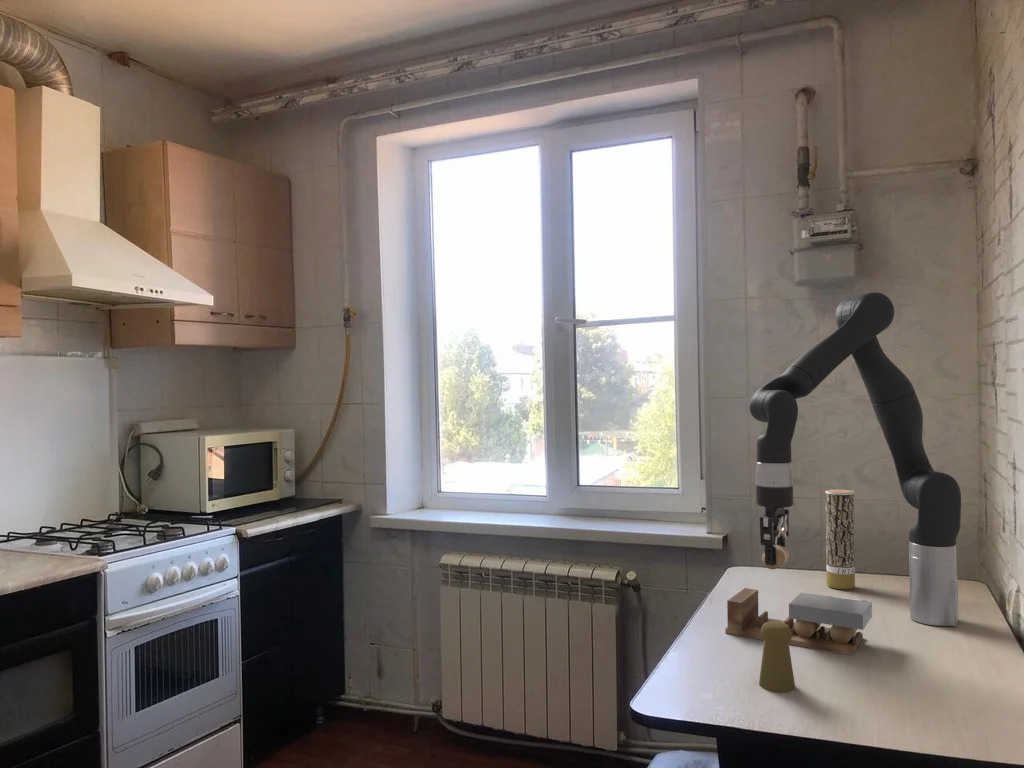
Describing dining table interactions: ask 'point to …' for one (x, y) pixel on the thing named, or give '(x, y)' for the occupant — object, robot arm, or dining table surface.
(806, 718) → the dining table surface
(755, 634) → the roller bed
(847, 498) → the paper tube
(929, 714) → the dining table surface
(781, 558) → the roller
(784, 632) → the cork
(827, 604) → the slab
